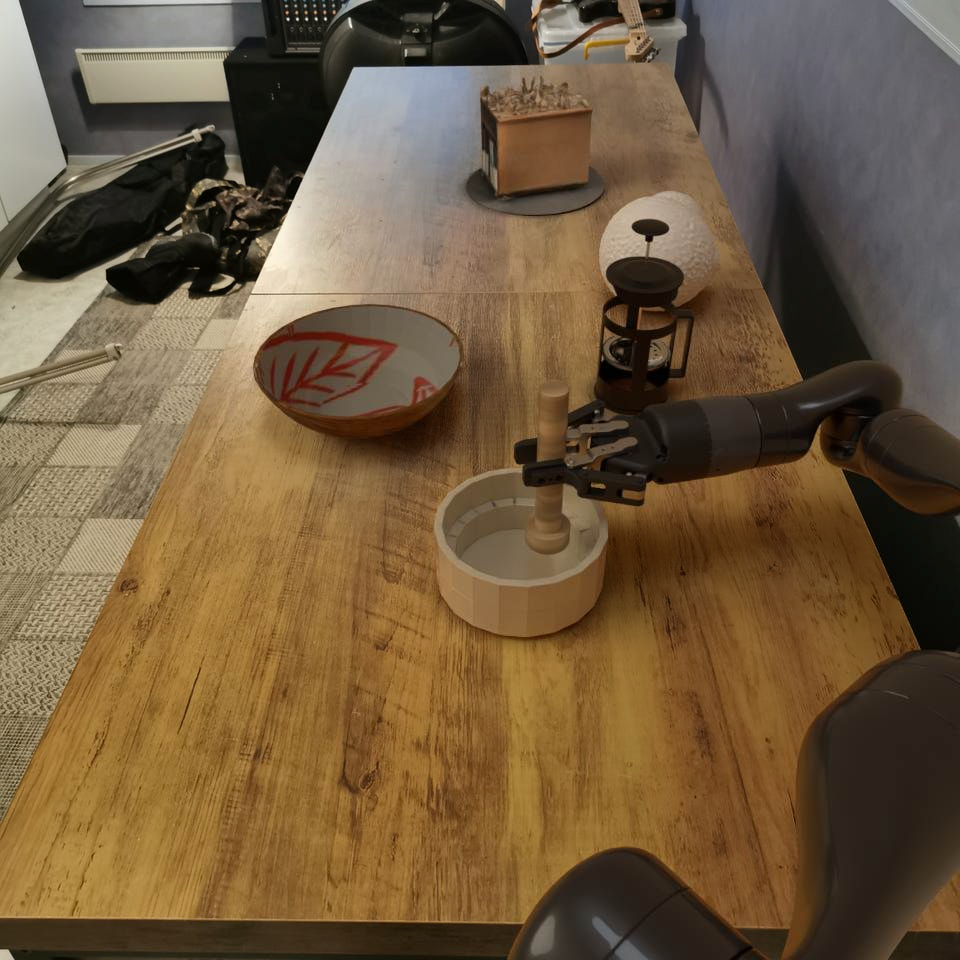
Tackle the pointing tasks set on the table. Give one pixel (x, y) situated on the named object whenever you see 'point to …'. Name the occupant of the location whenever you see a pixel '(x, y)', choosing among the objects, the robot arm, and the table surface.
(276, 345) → the bowl
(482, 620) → the cream open cylinder
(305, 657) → the table surface
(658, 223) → the french press
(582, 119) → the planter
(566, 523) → the wooden pestle
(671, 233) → the decorative orb
